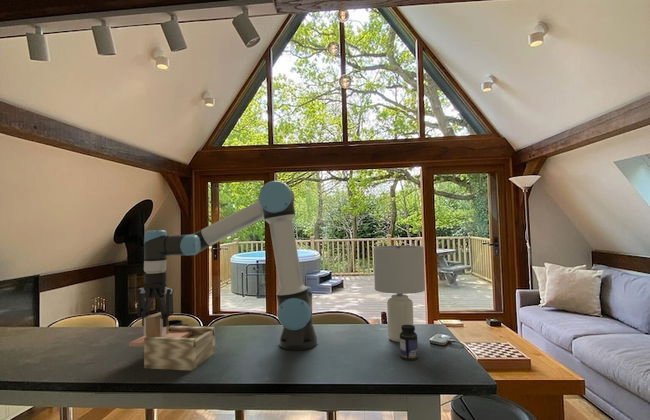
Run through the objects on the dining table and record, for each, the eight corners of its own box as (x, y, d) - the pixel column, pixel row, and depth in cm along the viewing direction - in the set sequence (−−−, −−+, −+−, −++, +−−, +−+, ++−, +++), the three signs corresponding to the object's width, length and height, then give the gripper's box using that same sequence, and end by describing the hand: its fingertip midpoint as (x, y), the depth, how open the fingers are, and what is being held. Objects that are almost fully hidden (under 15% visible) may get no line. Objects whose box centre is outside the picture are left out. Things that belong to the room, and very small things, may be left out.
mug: (182, 350, 139) (182, 326, 139) (156, 348, 142) (156, 324, 142) (195, 343, 147) (195, 320, 147) (169, 342, 150) (169, 319, 150)
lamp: (376, 347, 138) (374, 246, 140) (375, 331, 158) (373, 244, 160) (430, 348, 136) (427, 246, 137) (422, 332, 156) (419, 243, 158)
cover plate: (192, 333, 136) (191, 309, 136) (171, 345, 122) (170, 318, 123) (153, 334, 138) (152, 310, 139) (129, 346, 125) (128, 319, 125)
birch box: (215, 353, 135) (214, 326, 135) (192, 370, 119) (192, 340, 120) (171, 351, 138) (171, 325, 138) (144, 368, 122) (144, 338, 123)
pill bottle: (418, 355, 129) (417, 324, 129) (417, 361, 123) (416, 329, 124) (401, 353, 131) (400, 323, 131) (399, 359, 125) (398, 327, 126)
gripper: (184, 270, 134) (184, 333, 133) (139, 270, 137) (138, 331, 136) (172, 273, 126) (172, 339, 125) (125, 273, 130) (124, 337, 128)
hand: (155, 335), depth 131 cm, fingers open, 6 cm apart
